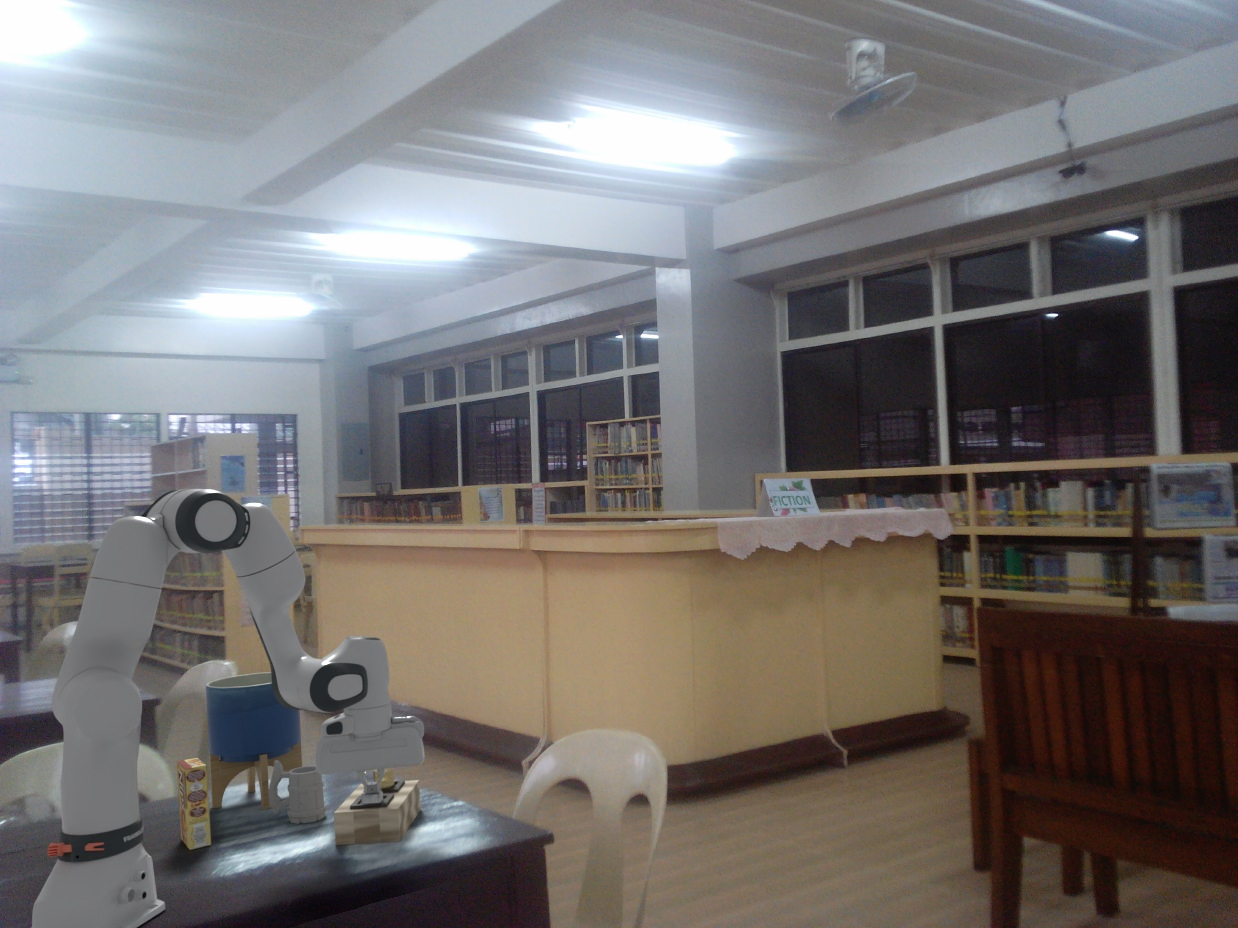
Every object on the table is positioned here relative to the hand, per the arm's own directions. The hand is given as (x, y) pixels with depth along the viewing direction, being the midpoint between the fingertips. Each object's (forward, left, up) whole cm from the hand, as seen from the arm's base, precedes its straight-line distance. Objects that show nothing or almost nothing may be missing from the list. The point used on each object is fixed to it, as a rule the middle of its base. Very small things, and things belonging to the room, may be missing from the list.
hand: (372, 792), depth 200 cm
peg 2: (+10, 0, -5) cm, 11 cm away
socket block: (+5, 0, -8) cm, 9 cm away
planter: (+31, +33, -8) cm, 46 cm away
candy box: (+2, +35, -8) cm, 36 cm away
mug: (+14, +19, -8) cm, 25 cm away
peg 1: (0, 0, -7) cm, 7 cm away
